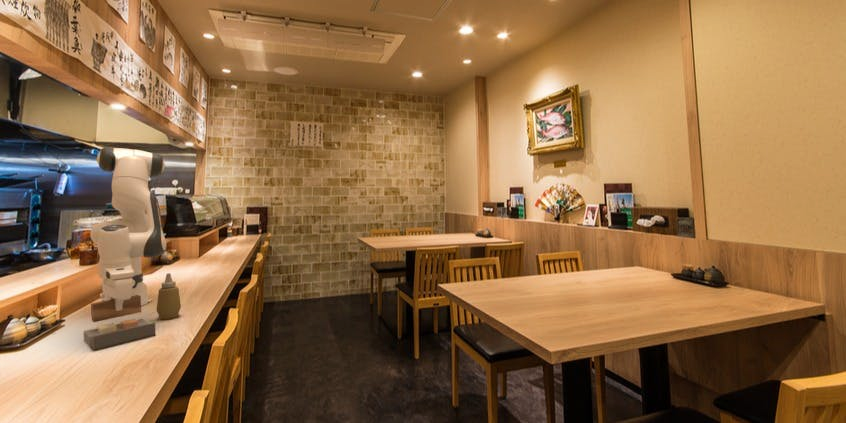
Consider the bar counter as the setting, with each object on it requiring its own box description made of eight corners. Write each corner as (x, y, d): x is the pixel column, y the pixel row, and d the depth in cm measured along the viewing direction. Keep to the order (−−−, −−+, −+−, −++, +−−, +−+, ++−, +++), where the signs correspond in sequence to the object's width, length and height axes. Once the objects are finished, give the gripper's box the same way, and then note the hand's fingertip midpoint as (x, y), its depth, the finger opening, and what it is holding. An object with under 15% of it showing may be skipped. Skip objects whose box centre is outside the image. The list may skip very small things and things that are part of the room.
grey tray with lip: (83, 340, 118) (83, 327, 118) (142, 326, 131) (142, 314, 131) (94, 351, 110) (93, 337, 110) (155, 335, 123) (155, 323, 122)
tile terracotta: (120, 326, 123) (120, 321, 123) (135, 322, 127) (134, 318, 127) (124, 328, 121) (124, 324, 121) (138, 325, 124) (138, 321, 124)
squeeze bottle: (185, 314, 145) (185, 271, 145) (170, 321, 137) (169, 276, 137) (168, 313, 146) (167, 271, 146) (151, 320, 138) (150, 275, 138)
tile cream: (98, 331, 119) (98, 326, 118) (113, 327, 122) (113, 323, 122) (101, 333, 116) (101, 329, 116) (116, 330, 119) (116, 325, 119)
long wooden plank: (91, 320, 120) (90, 303, 120) (138, 310, 130) (137, 294, 130) (93, 322, 118) (93, 304, 118) (141, 312, 129) (140, 296, 128)
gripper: (96, 269, 127) (97, 306, 127) (112, 275, 115) (113, 316, 116) (118, 266, 132) (119, 302, 133) (135, 272, 120) (137, 311, 121)
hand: (116, 309), depth 124 cm, fingers closed on long wooden plank, 3 cm apart
